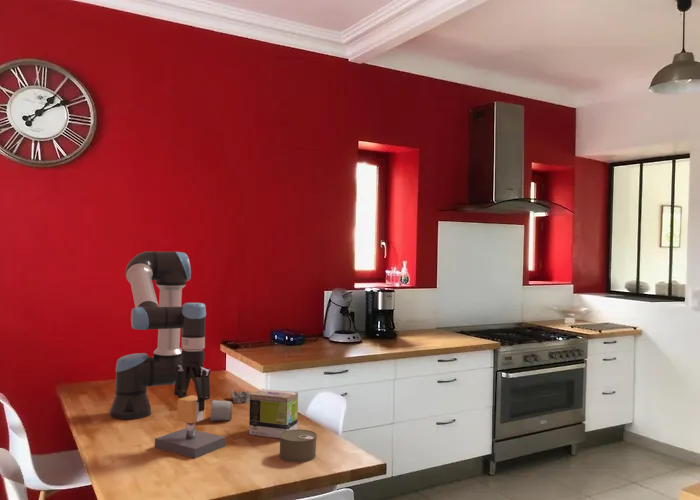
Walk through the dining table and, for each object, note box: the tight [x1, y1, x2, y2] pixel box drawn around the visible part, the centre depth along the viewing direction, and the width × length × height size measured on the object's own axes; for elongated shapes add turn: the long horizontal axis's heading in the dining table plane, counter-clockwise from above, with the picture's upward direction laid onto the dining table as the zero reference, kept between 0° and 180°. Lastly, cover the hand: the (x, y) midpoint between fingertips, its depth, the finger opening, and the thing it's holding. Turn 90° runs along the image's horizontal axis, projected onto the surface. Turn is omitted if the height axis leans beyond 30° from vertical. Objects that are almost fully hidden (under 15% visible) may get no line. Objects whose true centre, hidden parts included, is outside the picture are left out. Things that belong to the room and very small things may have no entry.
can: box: [279, 429, 318, 464], centre depth 185 cm, size 12×12×7 cm
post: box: [185, 422, 197, 439], centre depth 191 cm, size 3×3×6 cm
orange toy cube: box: [176, 394, 207, 423], centre depth 191 cm, size 6×6×7 cm
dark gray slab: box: [154, 427, 227, 459], centre depth 191 cm, size 18×14×3 cm
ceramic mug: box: [210, 399, 233, 422], centre depth 224 cm, size 11×8×8 cm
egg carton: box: [231, 389, 251, 404], centre depth 253 cm, size 11×8×4 cm
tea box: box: [248, 388, 299, 439], centre depth 207 cm, size 15×10×15 cm, turn 71°
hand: (191, 418), depth 191 cm, fingers closed on orange toy cube, 6 cm apart
